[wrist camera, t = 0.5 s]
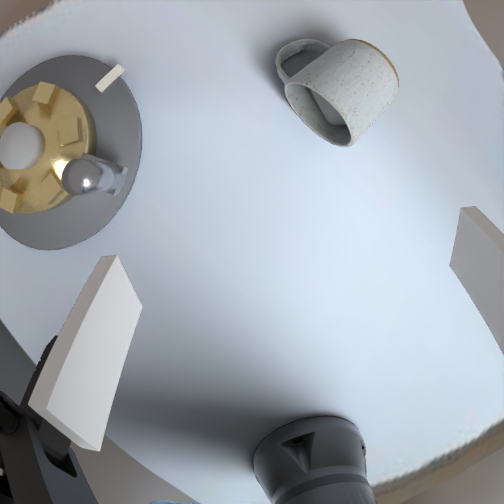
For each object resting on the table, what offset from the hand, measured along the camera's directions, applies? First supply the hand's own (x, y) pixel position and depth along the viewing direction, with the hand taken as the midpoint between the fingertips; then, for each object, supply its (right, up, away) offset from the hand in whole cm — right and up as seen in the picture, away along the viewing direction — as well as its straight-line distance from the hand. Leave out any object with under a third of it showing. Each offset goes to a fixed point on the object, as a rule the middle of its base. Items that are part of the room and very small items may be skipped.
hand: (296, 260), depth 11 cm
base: (-22, +11, +15) cm, 29 cm away
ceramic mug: (+5, +16, +17) cm, 23 cm away
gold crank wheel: (-20, +9, +14) cm, 26 cm away
